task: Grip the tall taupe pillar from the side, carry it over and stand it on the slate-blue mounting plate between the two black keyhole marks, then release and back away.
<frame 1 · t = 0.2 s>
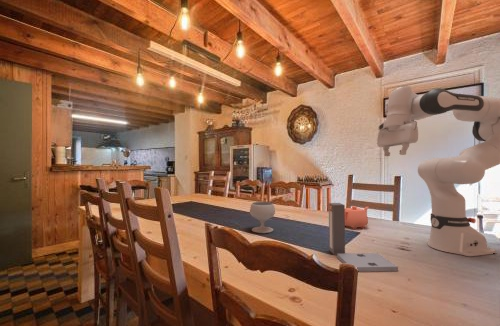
hand: (394, 155, 98), 40 cm above the table, tool pointing down, fingers open, 8 cm apart
tall taupe pillar: (336, 252, 94), on the table
mounting plate: (365, 263, 83), on the table
teapot: (355, 227, 133), on the table
chalice: (262, 230, 126), on the table
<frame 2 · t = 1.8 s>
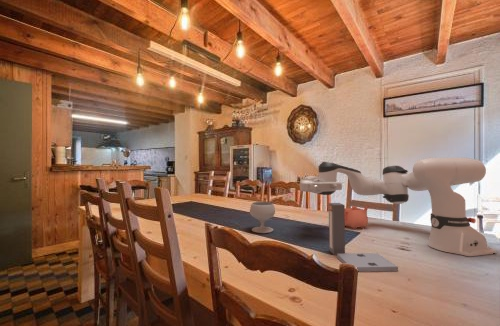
hand: (325, 187, 106), 26 cm above the table, tool horizontal, fingers open, 8 cm apart
nothing on the table moved.
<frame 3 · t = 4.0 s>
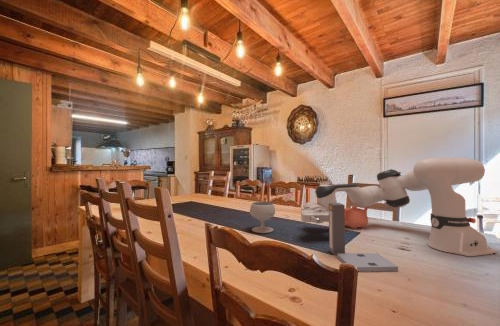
hand: (327, 220, 103), 11 cm above the table, tool horizontal, fingers open, 8 cm apart
nothing on the table moved.
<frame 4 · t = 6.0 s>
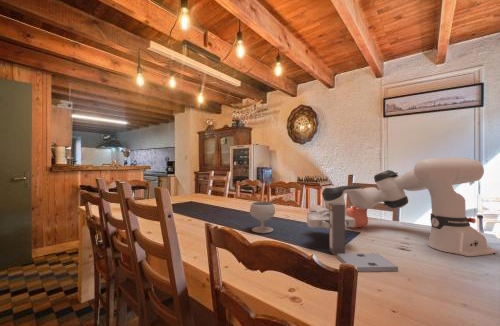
hand: (337, 226, 93), 11 cm above the table, tool horizontal, fingers closed on tall taupe pillar, 5 cm apart
tall taupe pillar: (336, 252, 94), on the table, touching gripper
everything else where it was.
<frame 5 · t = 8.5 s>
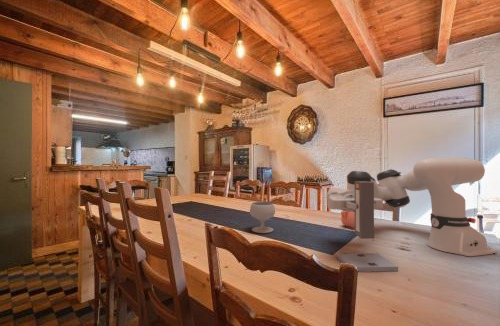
hand: (365, 206, 83), 21 cm above the table, tool horizontal, fingers closed on tall taupe pillar, 5 cm apart
tall taupe pillar: (364, 236, 84), point 10 cm above the table, touching gripper
everything else where it was.
when the fingers open (14 cm above the table, at t = 10.6 s): tall taupe pillar drops 1 cm, resting on mounting plate.
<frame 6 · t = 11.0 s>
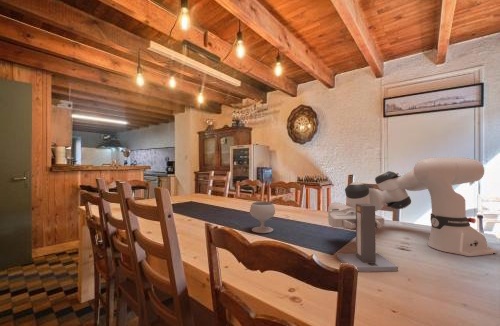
hand: (366, 226, 82), 14 cm above the table, tool horizontal, fingers open, 8 cm apart
tall taupe pillar: (365, 259, 83), point 2 cm above the table, touching mounting plate
everything else where it was.
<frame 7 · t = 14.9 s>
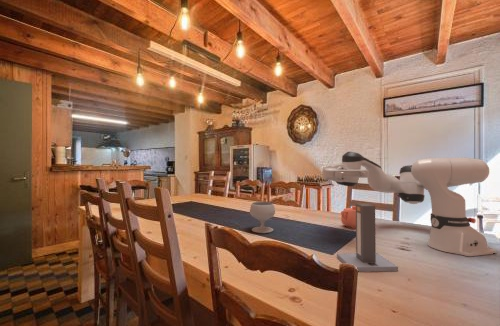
hand: (352, 174, 101), 32 cm above the table, tool horizontal, fingers open, 8 cm apart
nothing on the table moved.
at the end: tall taupe pillar inside the target area on the mounting plate (0.1 cm from its centre), point 1.5 cm above the mounting plate's base; tall taupe pillar tilted 0°; the gripper is holding nothing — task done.
